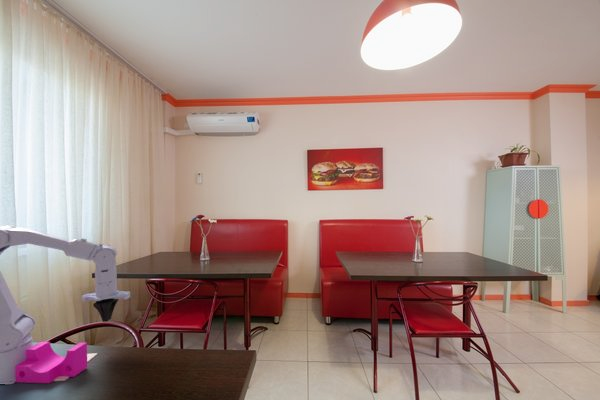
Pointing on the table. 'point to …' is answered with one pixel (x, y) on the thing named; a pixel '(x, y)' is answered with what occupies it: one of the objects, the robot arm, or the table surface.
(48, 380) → the toy block
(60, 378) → the pale mat
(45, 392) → the table surface
